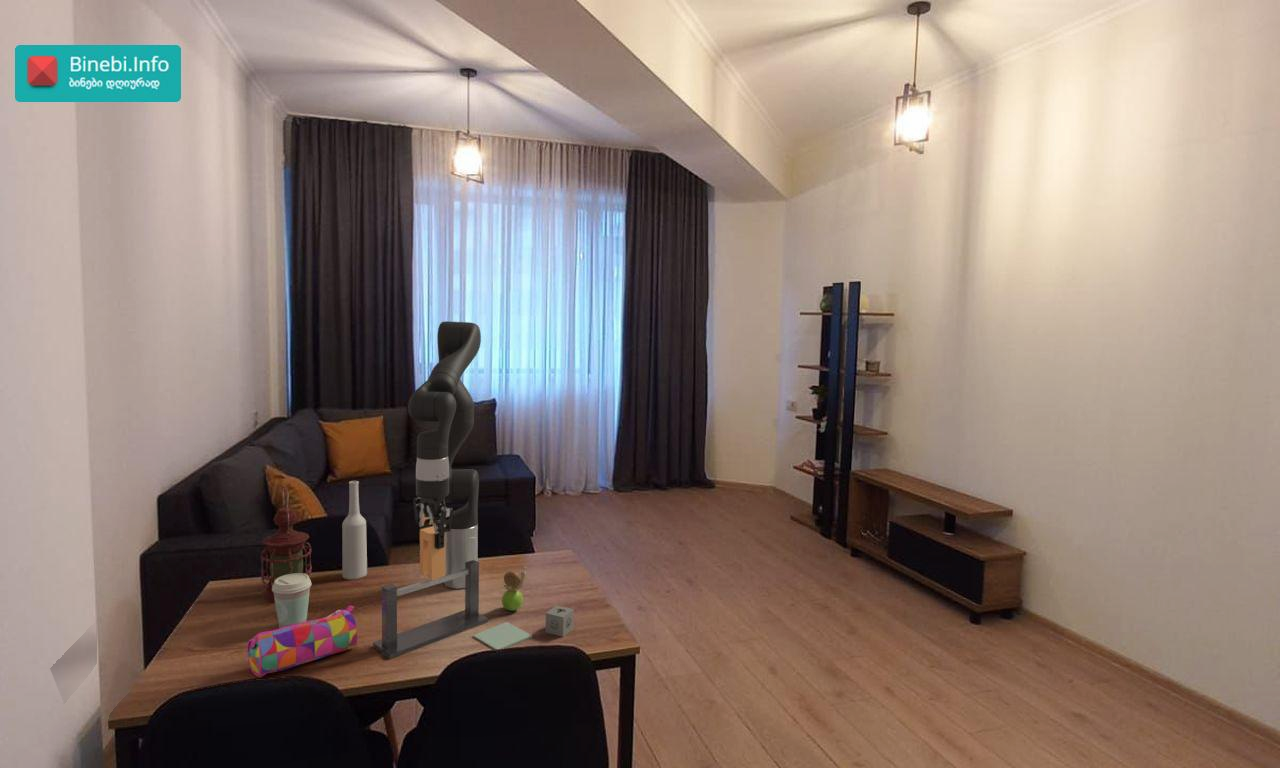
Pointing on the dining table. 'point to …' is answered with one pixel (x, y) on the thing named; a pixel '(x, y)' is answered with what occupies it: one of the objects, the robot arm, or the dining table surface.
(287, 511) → the lantern
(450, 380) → the robot arm
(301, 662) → the pencil case
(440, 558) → the c link
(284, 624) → the coffee cup
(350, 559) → the bottle
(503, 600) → the snail figurine
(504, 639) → the felt mat
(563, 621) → the dice cube
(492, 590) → the dining table surface
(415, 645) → the rail stand
